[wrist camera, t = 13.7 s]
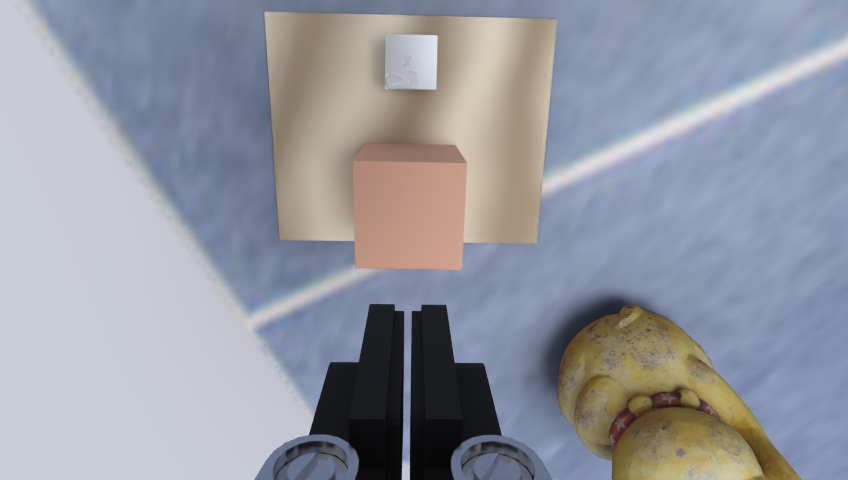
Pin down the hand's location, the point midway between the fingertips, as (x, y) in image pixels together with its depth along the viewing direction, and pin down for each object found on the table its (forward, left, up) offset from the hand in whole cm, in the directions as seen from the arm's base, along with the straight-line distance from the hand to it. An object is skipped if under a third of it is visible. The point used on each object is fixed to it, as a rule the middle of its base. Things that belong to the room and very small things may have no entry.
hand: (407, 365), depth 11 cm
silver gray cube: (0, -7, -21) cm, 22 cm away
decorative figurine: (-14, +11, -21) cm, 28 cm away
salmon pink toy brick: (0, 0, -20) cm, 20 cm away
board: (0, -3, -21) cm, 21 cm away
